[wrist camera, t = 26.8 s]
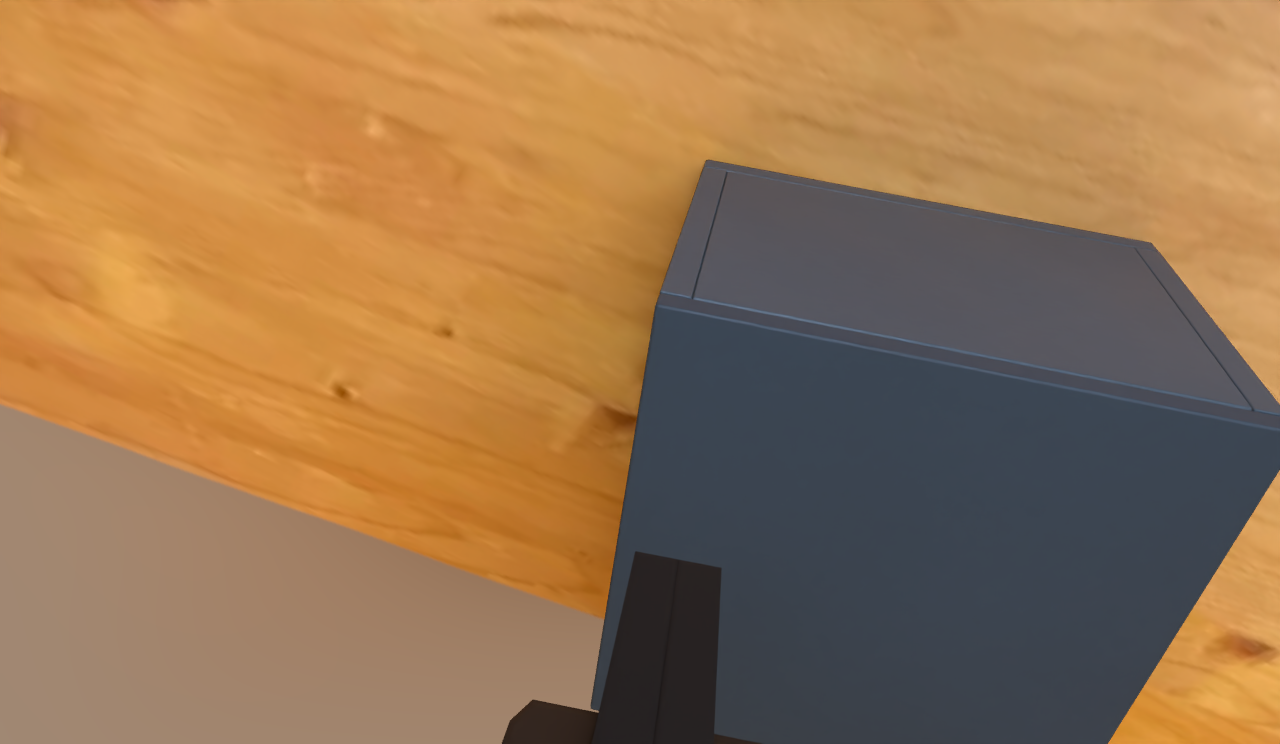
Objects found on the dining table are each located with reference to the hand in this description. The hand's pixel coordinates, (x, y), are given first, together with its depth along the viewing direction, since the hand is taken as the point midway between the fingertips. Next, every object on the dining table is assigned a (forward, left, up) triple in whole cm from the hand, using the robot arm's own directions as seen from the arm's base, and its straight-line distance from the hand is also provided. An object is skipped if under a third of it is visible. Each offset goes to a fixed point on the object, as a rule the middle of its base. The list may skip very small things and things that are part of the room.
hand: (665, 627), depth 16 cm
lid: (+6, -8, -11) cm, 15 cm away
